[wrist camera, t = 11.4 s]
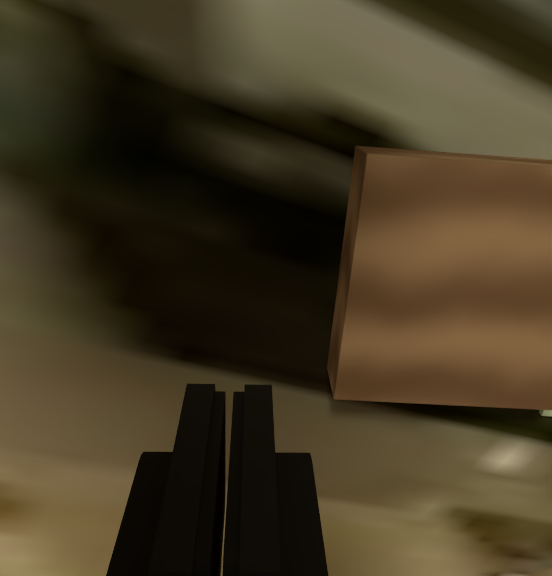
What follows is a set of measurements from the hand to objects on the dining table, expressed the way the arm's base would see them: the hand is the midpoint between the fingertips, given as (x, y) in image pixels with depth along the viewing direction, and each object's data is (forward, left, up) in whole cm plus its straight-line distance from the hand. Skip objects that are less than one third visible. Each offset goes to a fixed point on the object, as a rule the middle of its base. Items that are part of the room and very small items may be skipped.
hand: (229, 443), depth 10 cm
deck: (+4, +14, -24) cm, 28 cm away
